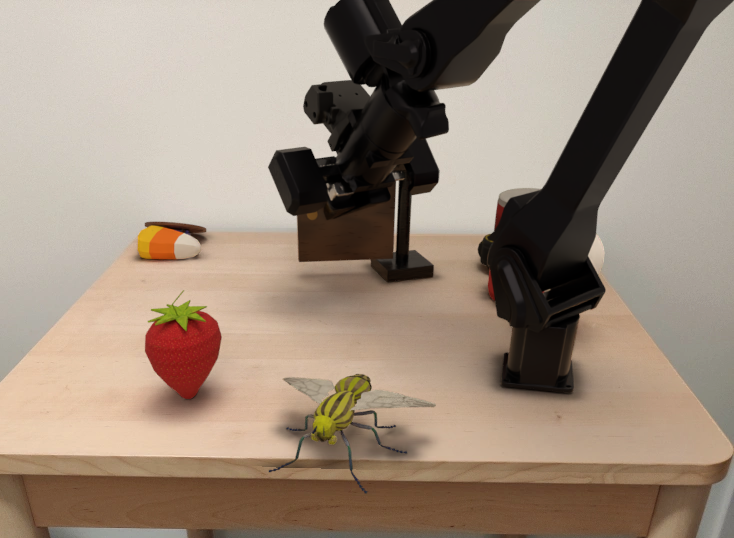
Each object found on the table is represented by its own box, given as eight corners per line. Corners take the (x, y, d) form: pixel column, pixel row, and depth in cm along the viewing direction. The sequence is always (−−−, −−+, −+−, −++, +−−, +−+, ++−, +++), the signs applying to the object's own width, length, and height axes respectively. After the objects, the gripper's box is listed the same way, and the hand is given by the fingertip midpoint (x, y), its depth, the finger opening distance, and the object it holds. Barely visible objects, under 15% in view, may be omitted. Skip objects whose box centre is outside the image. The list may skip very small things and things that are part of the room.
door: (391, 256, 92) (395, 169, 86) (394, 261, 91) (397, 173, 85) (298, 259, 91) (295, 171, 85) (299, 264, 89) (296, 175, 83)
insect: (439, 425, 63) (444, 371, 60) (399, 502, 54) (402, 445, 51) (295, 397, 66) (292, 345, 63) (237, 466, 58) (231, 410, 55)
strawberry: (240, 384, 68) (231, 277, 63) (199, 424, 63) (184, 310, 57) (183, 374, 70) (169, 268, 64) (138, 411, 64) (117, 299, 58)
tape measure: (541, 267, 95) (546, 237, 93) (515, 281, 91) (519, 250, 88) (495, 255, 98) (498, 226, 96) (467, 269, 94) (470, 238, 92)
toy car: (136, 220, 97) (136, 232, 97) (198, 223, 97) (198, 236, 97) (155, 228, 105) (155, 239, 105) (212, 231, 104) (212, 243, 105)
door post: (414, 261, 96) (420, 160, 89) (433, 277, 91) (440, 172, 84) (370, 266, 94) (372, 164, 87) (387, 282, 90) (391, 176, 83)
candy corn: (133, 261, 95) (193, 270, 94) (130, 239, 93) (191, 247, 92) (152, 242, 100) (210, 250, 99) (149, 220, 98) (208, 228, 97)
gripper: (431, 47, 77) (369, 144, 91) (271, 58, 69) (229, 162, 83) (473, 144, 77) (404, 226, 91) (317, 167, 69) (267, 253, 82)
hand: (329, 215), depth 87 cm, fingers closed
